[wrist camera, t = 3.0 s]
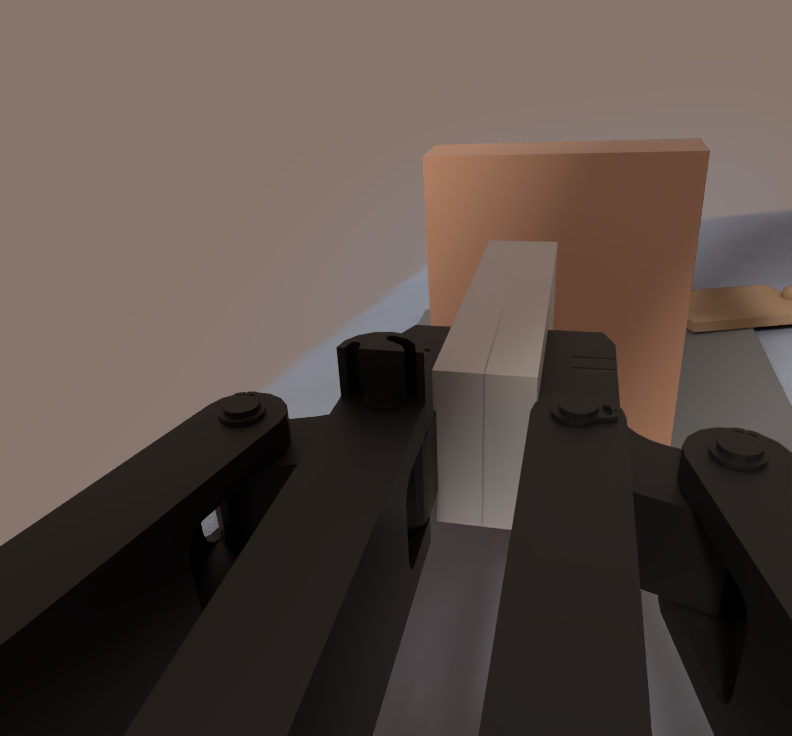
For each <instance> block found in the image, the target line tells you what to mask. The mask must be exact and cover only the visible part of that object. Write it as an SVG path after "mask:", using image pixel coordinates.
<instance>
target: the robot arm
mask: <svg viewBox="0 0 792 736" xmlns="http://www.w3.org/2000/svg"><path fill="white" fill-rule="evenodd" d="M557 245H558V242H540V241H496V240H489V243H488V245H487V247H486V250H485V252H484V254H483V256H482V259H481V261H480V263H479V265H478V268H477V270H476V272H475V274H474V277H473V279H472V281H471V283H470V286H469V288H468V290H467V292H466V295H465V297H464V299H463V301H462V304H461V306H460V308H459V310H458V313H457V315H456V317H455V320H454V322H453V324H452V326H451V327H448V326H429V325H415V326H413V327H411V328H410V329H408V330H406V331H405V332H403V333H395V332H373V333H368V334H363V335H358V336H355V337H353V338H350V339H348V340H345V341H344V342H343V343H341V344H340V345H339V346H338V347H337V357H338V367H339V378H340V389H341V397H340V399H339V400H338V402H337V404H336V405H335V407H334V408H333V410H332V411H331V413H330V414H329V415H323V416H316V417H306V418H296V419H289V417H288V410H287V405H286V404H285V402H284V401H283V400H282V399H281V398H279V397H277V396H274V395H271V394H267V393H258V392H247V393H245V392H241V393H236V394H234V395H232V396H229V397H225V398H222V399H220V400H218V401H216V402H214V403H212V404H210V405H208V406H207V407H205V408H204V409H202V410H201V411H199V412H198V413H196V414H195V415H193V416H192V417H190V418H189V419H187V420H186V421H184V422H183V423H182V424H180V425H179V426H177V427H176V428H174V429H173V430H171V431H170V432H168V433H167V434H165V435H164V436H162V437H161V438H159V439H158V440H157V441H155V442H153V443H152V444H150V445H149V446H148V447H146V448H145V449H143V450H142V451H140V452H139V453H137V454H136V455H134V456H133V457H131V458H130V459H128V460H127V461H125V462H124V463H122V464H121V465H120V466H118V467H117V468H115V469H114V470H112V471H111V472H109V473H108V474H106V475H105V476H103V477H102V478H100V479H99V480H97V481H96V482H94V483H93V484H92V485H90V486H89V487H87V488H86V489H84V490H83V491H81V492H80V493H78V494H77V495H75V496H74V497H72V498H71V499H69V500H68V501H66V502H65V503H64V504H62V505H61V506H59V507H58V508H56V509H55V510H53V511H52V512H50V513H49V514H47V515H46V516H44V517H43V518H41V519H40V520H38V521H37V522H36V523H34V524H33V525H31V526H30V527H28V528H27V529H25V530H24V531H22V532H21V533H19V534H18V535H17V536H15V537H13V538H12V539H10V540H9V541H8V542H6V543H5V544H3V545H2V546H0V736H372V735H373V732H374V728H375V725H376V722H377V718H378V715H379V712H380V708H381V705H382V702H383V698H384V695H385V692H386V688H387V685H388V682H389V678H390V675H391V672H392V668H393V665H394V662H395V658H396V655H397V652H398V648H399V645H400V641H401V638H402V635H403V631H404V628H405V625H406V621H407V618H408V615H409V611H410V608H411V605H412V601H413V598H414V595H415V591H416V588H417V585H418V581H419V578H420V575H421V571H422V568H423V565H424V561H425V558H426V555H427V551H428V548H429V545H430V513H431V510H432V507H433V503H434V500H435V497H436V521H440V522H448V523H456V524H465V525H473V526H481V527H490V528H498V529H506V530H511V536H510V542H509V548H508V555H507V561H506V567H505V574H504V580H503V586H502V592H501V599H500V605H499V611H498V617H497V624H496V630H495V636H494V643H493V649H492V655H491V661H490V668H489V674H488V680H487V687H486V693H485V699H484V705H483V712H482V718H481V724H480V731H479V736H652V730H651V717H650V705H649V692H648V679H647V667H646V654H645V641H644V629H643V616H642V604H641V591H640V589H643V590H645V591H648V592H651V593H653V594H656V595H658V601H659V607H660V612H661V614H662V617H663V619H664V621H665V623H666V626H667V628H668V630H669V633H670V635H671V637H672V639H673V642H674V644H675V646H676V649H677V651H678V653H679V655H680V658H681V660H682V662H683V665H684V667H685V669H686V672H687V674H688V676H689V678H690V681H691V683H692V685H693V688H694V690H695V692H696V694H697V697H698V699H699V701H700V704H701V706H702V708H703V710H704V713H705V715H706V717H707V720H708V722H709V724H710V726H711V729H712V731H713V733H714V736H792V452H790V451H789V450H788V449H787V448H785V447H784V446H783V445H781V444H780V443H779V442H777V441H775V440H773V439H771V438H768V437H766V436H764V435H762V434H760V433H758V432H754V431H751V430H745V429H742V428H736V427H732V428H724V427H715V428H708V429H701V430H698V431H696V432H694V433H692V434H690V435H689V436H687V438H686V440H685V441H684V443H683V445H682V449H679V448H675V447H671V446H667V445H664V444H661V443H658V442H655V441H652V440H649V439H647V438H645V437H643V436H641V435H639V434H637V433H636V432H635V431H633V430H632V429H631V428H629V427H628V426H627V418H626V415H625V413H624V411H623V409H622V408H620V399H619V385H618V372H617V361H616V360H617V357H616V345H615V344H614V343H613V342H612V341H611V340H610V339H609V338H608V337H607V336H606V335H605V334H604V333H601V332H582V331H563V330H553V316H554V299H555V281H556V263H557ZM214 510H216V515H217V520H218V525H219V528H218V529H216V530H215V531H214V532H213V533H212V534H211V535H209V536H207V537H205V536H204V534H203V531H202V526H201V522H202V521H203V520H204V519H205V518H206V517H207V516H208V515H209V514H211V513H212V512H213V511H214Z"/></svg>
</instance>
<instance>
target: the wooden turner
mask: <svg viewBox="0 0 792 736" xmlns="http://www.w3.org/2000/svg"><path fill="white" fill-rule="evenodd" d="M787 324H792V285H789V286H787V287H786V288H784V289H783V291H782V292H781V291H779V290H776V289H774V288H772V287H770V286H768V285H752V286H740V287H727V288H715V289H702V290H691V296H690V304H689V311H688V319H687V326H686V328H687V329H689V330H690V331H692V332H705V331H716V330H728V329H740V328H752V327H764V326H775V325H787Z"/></svg>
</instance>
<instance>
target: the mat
mask: <svg viewBox="0 0 792 736" xmlns="http://www.w3.org/2000/svg"><path fill="white" fill-rule="evenodd" d="M418 325H429V326H431V324H430V310H425V312H424V314H423V316H422V318H421V320H420V322H419V323H418ZM715 427H724V428H732V427H736V428H742V429H745V430H751V431H754V432H758V433H760V434H762V435H764V436H766V437H768V438H771V439H773V440H775V441H777V442H779V443H780V444H781V445H783V446H784V447H785V448H787V449H788V450H789V451H790V452H792V407H791V405H790V403H789V400H788V398H787V396H786V394H785V392H784V390H783V388H782V386H781V384H780V382H779V380H778V378H777V376H776V374H775V372H774V370H773V368H772V366H771V364H770V362H769V360H768V357H767V355H766V353H765V351H764V349H763V347H762V345H761V343H760V341H759V339H758V337H757V335H756V333H755V331H754V329H753V327H752V328H740V329H728V330H716V331H705V332H692V331H690V330H689V329H687V328H686V333H685V341H684V348H683V356H682V363H681V371H680V378H679V386H678V393H677V401H676V408H675V416H674V423H673V430H672V438H671V445H670V446H671V447H675V448H679V449H682V445H683V443H684V441H685V440H686V438H687V436H689V435H690V434H692V433H694V432H696V431H698V430H701V429H708V428H715Z"/></svg>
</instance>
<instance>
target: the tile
mask: <svg viewBox="0 0 792 736" xmlns="http://www.w3.org/2000/svg"><path fill="white" fill-rule="evenodd" d="M709 154H710V150H709V149H708V147H707V146H706V145H705V144H704V142H703V141H702V140H701V138H698V139H654V140H614V141H574V142H532V143H489V144H449V145H435V146H434V147H433V148H431V149H430V150H429V151H428V152H427V153H426V154H425V155H424V156H423V170H424V192H425V214H426V235H427V258H428V280H429V302H430V324H431V326H448V327H451V326H452V324H453V322H454V320H455V317H456V315H457V313H458V310H459V308H460V306H461V304H462V301H463V299H464V297H465V295H466V292H467V290H468V288H469V286H470V283H471V281H472V279H473V277H474V274H475V272H476V270H477V268H478V265H479V263H480V261H481V259H482V256H483V254H484V252H485V250H486V247H487V245H488V243H489V240H496V241H540V242H558V245H557V263H556V281H555V299H554V316H553V330H563V331H582V332H601V333H604V334H605V335H606V336H607V337H608V338H609V339H610V340H611V341H612V342H613V343H614V344H615V345H616V357H617V360H616V361H617V372H618V385H619V399H620V408H622V409H623V411H624V413H625V415H626V418H627V426H628V427H629V428H631V429H632V430H633V431H635V432H636V433H637V434H639V435H641V436H643V437H645V438H647V439H649V440H652V441H655V442H658V443H661V444H664V445H667V446H670V445H671V438H672V430H673V423H674V416H675V408H676V401H677V393H678V386H679V378H680V371H681V363H682V356H683V348H684V341H685V333H686V326H687V319H688V311H689V304H690V296H691V289H692V281H693V274H694V266H695V259H696V251H697V244H698V236H699V229H700V222H701V214H702V207H703V198H704V192H705V184H706V177H707V169H708V161H709Z"/></svg>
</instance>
